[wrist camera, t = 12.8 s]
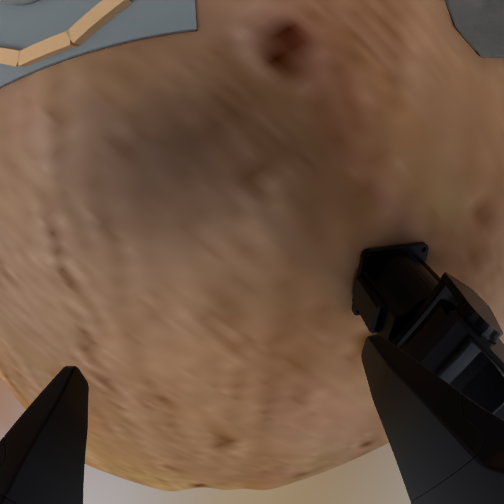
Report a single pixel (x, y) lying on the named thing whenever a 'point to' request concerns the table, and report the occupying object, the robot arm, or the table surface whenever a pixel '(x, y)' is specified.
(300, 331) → the table surface
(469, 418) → the robot arm
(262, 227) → the table surface
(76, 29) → the collar mat
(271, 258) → the table surface
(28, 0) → the cup
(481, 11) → the coffeepot
